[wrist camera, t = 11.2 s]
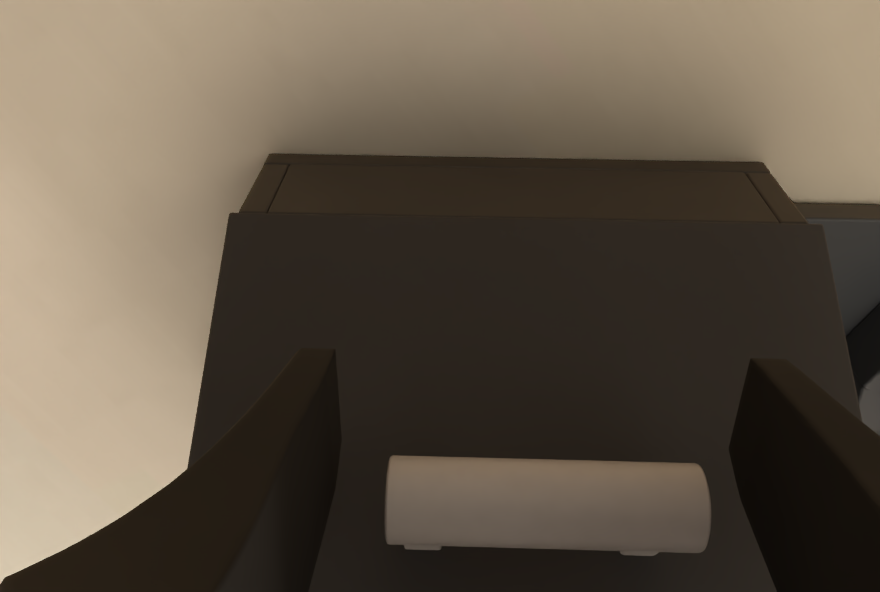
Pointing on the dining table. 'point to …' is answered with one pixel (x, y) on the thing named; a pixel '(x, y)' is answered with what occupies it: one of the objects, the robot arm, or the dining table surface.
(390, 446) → the lid
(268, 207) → the dark brown box
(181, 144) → the dining table surface
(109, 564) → the robot arm
